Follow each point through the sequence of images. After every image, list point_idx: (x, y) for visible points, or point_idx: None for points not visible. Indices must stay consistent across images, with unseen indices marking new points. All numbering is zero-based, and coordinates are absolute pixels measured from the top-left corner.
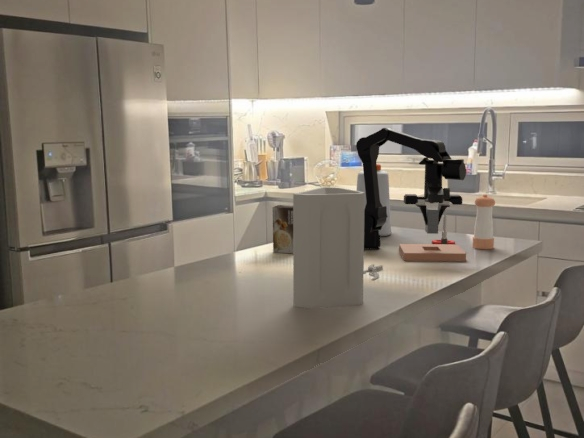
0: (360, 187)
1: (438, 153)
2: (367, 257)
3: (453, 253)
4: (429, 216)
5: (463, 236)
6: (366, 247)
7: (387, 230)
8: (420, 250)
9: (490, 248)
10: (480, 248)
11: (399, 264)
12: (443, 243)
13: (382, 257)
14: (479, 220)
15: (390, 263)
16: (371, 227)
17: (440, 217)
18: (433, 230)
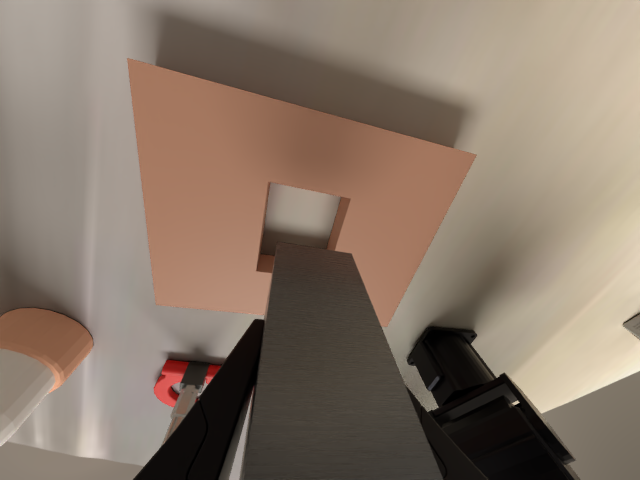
0: None
1: None
2: (536, 229)
3: (217, 83)
4: (382, 370)
5: (116, 445)
6: (461, 336)
7: None
8: (369, 203)
9: (9, 311)
10: (57, 315)
11: (525, 62)
12: (200, 367)
13: (490, 222)
14: None
15: (544, 98)
16: (520, 393)
17: (222, 378)
18: (312, 260)
